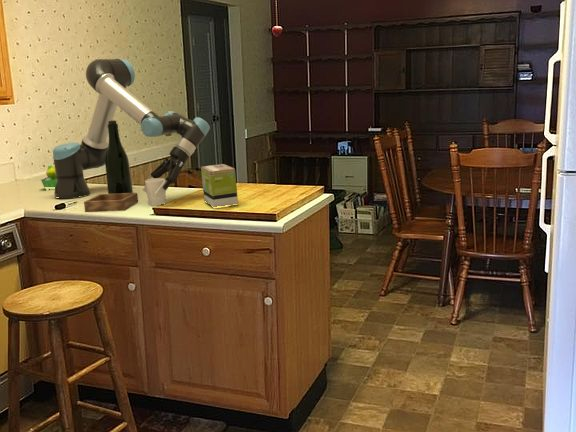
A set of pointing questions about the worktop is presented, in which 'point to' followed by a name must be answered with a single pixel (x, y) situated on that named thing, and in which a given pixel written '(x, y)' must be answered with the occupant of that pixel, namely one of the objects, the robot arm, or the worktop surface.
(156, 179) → the white cup
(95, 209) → the walnut box
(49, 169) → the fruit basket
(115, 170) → the wine bottle
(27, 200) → the worktop surface
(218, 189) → the tea box
